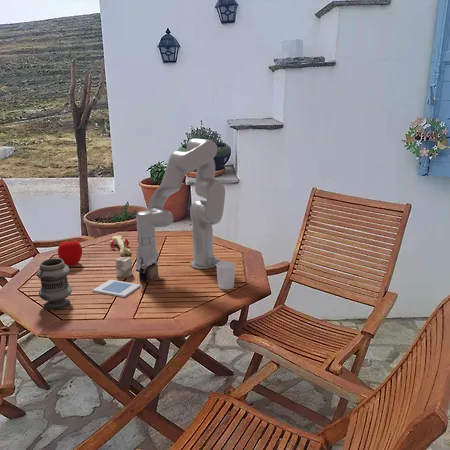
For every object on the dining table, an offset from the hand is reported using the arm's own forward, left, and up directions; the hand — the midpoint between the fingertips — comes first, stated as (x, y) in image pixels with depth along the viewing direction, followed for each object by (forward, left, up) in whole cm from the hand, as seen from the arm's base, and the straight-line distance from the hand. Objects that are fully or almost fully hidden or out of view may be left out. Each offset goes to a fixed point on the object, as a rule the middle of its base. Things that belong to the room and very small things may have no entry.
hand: (148, 276), depth 195 cm
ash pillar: (+13, 0, -1) cm, 13 cm away
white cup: (-35, -5, -1) cm, 35 cm away
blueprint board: (+7, +14, -1) cm, 16 cm away
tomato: (+45, -2, -1) cm, 45 cm away
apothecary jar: (+20, +35, -1) cm, 40 cm away
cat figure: (+37, -31, -2) cm, 48 cm away
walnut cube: (0, 0, -1) cm, 1 cm away
